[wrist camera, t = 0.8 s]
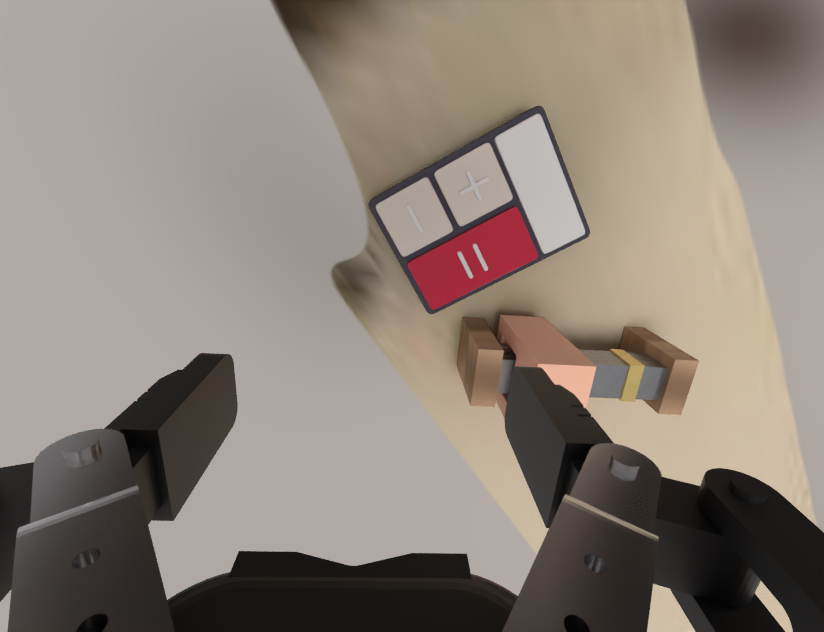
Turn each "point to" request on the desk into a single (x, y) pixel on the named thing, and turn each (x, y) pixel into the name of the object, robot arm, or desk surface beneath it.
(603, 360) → the grey metal bar
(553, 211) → the calculator
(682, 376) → the stand
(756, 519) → the robot arm
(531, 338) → the collar
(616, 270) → the desk surface
